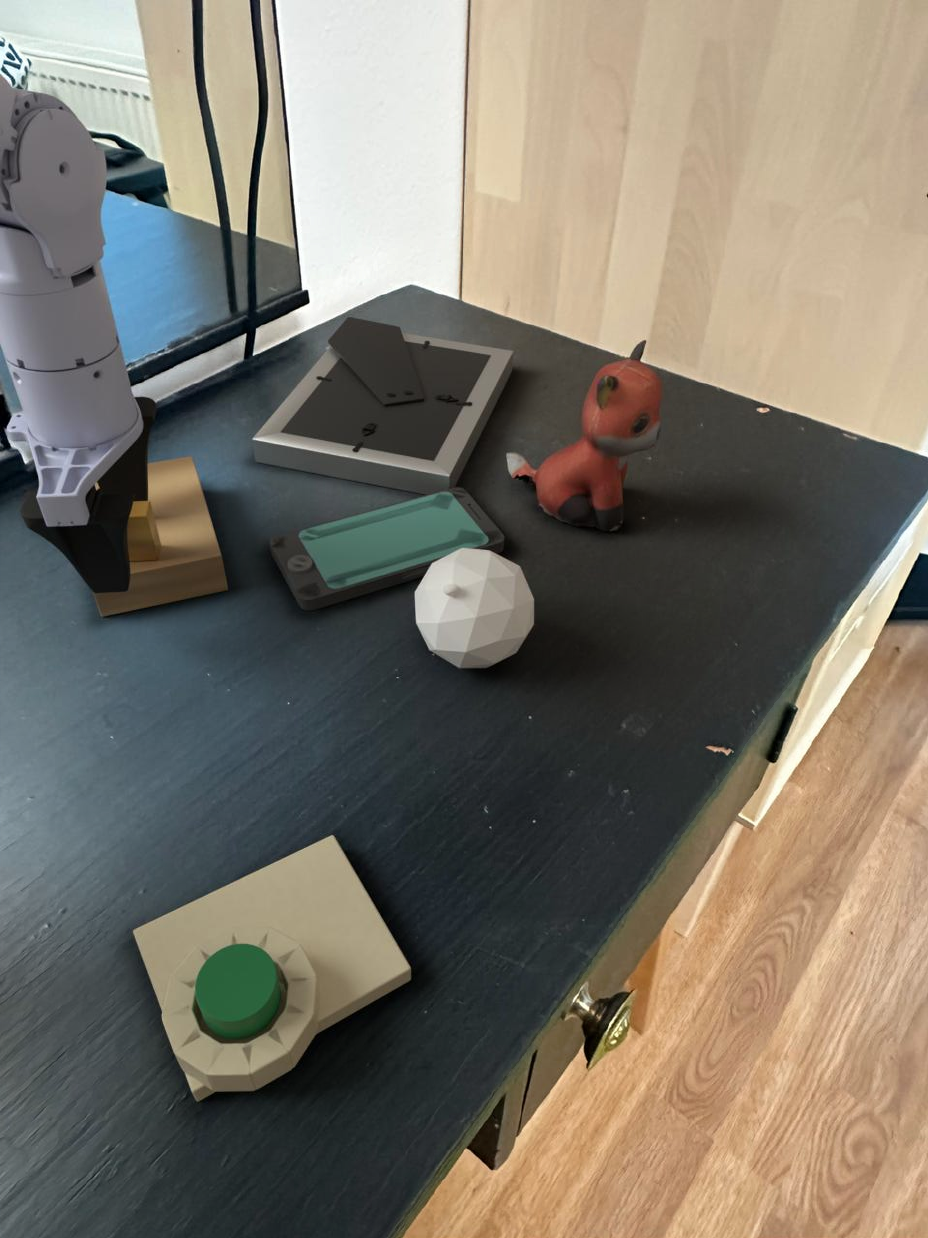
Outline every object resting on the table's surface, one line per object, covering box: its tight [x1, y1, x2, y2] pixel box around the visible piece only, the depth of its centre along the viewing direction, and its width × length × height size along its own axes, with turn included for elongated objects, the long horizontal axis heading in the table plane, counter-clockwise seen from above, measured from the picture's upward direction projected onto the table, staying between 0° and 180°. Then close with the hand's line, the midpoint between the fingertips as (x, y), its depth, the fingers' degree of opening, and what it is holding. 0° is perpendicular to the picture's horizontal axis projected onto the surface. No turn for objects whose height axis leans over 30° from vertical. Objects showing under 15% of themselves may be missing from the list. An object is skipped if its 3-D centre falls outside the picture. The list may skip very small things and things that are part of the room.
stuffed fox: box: [506, 339, 663, 532], centre depth 64 cm, size 8×11×12 cm
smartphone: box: [269, 486, 505, 612], centre depth 62 cm, size 7×1×15 cm
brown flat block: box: [92, 455, 229, 618], centre depth 61 cm, size 12×8×3 cm, turn 21°
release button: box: [195, 944, 281, 1040], centre depth 36 cm, size 3×3×2 cm
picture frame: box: [251, 316, 514, 496], centre depth 75 cm, size 16×3×21 cm
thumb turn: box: [127, 501, 161, 561], centre depth 55 cm, size 4×2×4 cm, turn 97°
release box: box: [132, 834, 412, 1102], centre depth 39 cm, size 10×9×3 cm
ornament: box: [414, 548, 535, 669], centre depth 53 cm, size 7×7×8 cm
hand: (121, 548), depth 56 cm, fingers open, 7 cm apart
